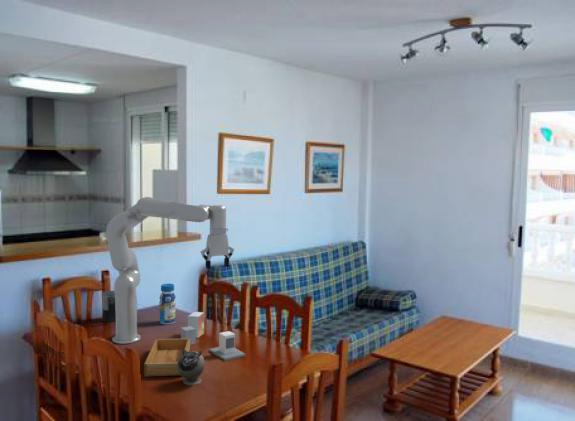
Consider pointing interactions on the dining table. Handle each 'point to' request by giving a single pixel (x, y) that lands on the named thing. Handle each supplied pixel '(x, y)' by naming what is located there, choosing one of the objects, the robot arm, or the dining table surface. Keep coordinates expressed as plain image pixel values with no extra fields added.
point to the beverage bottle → (167, 304)
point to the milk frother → (108, 306)
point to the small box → (197, 322)
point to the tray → (165, 357)
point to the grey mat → (227, 356)
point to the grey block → (189, 334)
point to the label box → (227, 342)
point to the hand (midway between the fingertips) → (217, 267)
